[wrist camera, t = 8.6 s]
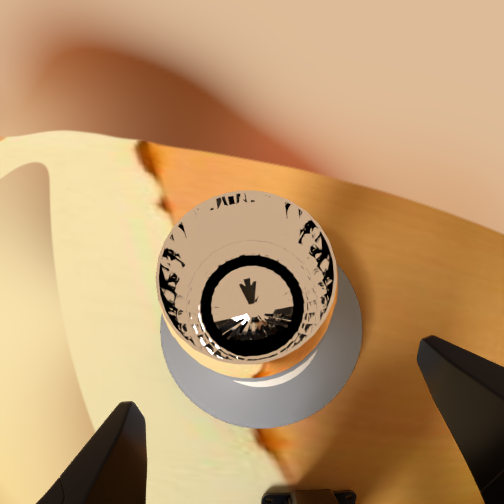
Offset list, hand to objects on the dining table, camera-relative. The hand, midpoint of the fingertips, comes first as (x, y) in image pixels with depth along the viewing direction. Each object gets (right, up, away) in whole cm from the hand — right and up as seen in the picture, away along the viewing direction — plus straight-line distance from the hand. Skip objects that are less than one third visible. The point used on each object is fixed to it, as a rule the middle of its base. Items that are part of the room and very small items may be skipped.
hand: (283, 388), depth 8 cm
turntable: (0, -1, +12) cm, 12 cm away
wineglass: (-1, -1, +11) cm, 11 cm away
